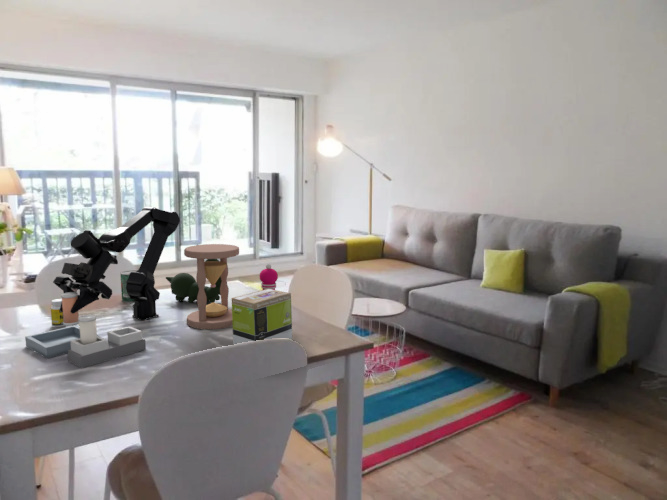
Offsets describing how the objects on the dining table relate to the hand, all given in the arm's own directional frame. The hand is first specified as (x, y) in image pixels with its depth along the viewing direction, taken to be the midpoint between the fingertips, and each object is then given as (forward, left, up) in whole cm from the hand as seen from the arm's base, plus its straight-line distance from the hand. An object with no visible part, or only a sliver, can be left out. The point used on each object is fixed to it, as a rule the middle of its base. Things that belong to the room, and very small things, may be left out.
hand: (66, 311), depth 146 cm
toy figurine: (-52, -11, -10) cm, 54 cm away
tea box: (-37, +42, -10) cm, 57 cm away
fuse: (+2, +18, -6) cm, 19 cm away
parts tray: (+2, +1, -9) cm, 10 cm away
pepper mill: (-52, +29, -10) cm, 60 cm away
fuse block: (-3, +18, -9) cm, 20 cm away
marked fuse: (-1, 0, -4) cm, 4 cm away
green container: (-38, -32, -10) cm, 50 cm away
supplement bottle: (-6, -20, -10) cm, 23 cm away
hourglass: (-41, +14, -10) cm, 44 cm away
